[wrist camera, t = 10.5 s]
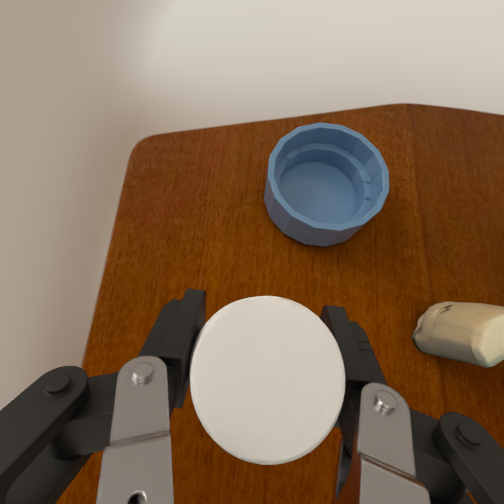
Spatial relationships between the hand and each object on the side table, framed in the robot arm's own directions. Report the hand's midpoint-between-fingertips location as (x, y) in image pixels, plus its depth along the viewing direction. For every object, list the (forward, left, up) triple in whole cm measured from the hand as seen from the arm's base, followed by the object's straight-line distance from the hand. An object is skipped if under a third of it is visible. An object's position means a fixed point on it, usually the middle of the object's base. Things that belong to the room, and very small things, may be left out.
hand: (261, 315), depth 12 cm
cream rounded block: (+18, +2, -16) cm, 24 cm away
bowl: (+6, +15, -16) cm, 22 cm away
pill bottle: (0, -2, -4) cm, 5 cm away
